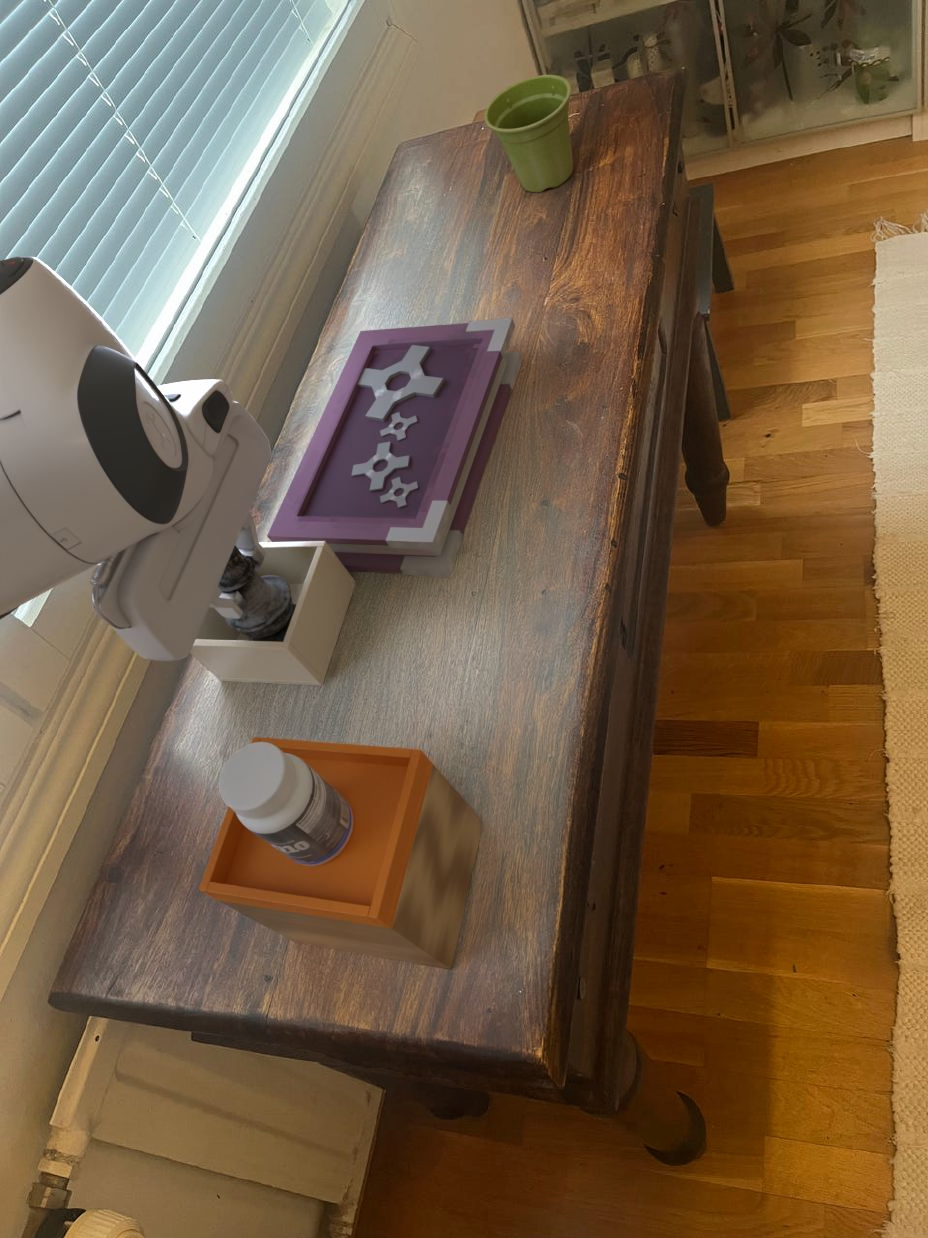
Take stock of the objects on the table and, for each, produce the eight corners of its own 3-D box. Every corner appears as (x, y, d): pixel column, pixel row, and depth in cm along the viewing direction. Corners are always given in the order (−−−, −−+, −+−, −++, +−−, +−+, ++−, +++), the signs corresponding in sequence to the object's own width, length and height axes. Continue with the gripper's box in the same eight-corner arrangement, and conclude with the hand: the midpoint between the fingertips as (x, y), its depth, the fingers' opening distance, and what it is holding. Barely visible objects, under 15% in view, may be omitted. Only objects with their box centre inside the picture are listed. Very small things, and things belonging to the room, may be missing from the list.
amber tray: (392, 928, 52) (377, 918, 50) (216, 900, 57) (197, 890, 55) (433, 763, 57) (421, 749, 55) (268, 750, 61) (253, 736, 60)
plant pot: (605, 155, 103) (588, 77, 96) (554, 209, 100) (533, 134, 94) (541, 144, 108) (520, 71, 101) (491, 196, 106) (467, 124, 99)
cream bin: (322, 686, 76) (286, 648, 71) (220, 680, 80) (180, 645, 75) (356, 582, 81) (325, 540, 76) (258, 582, 85) (223, 542, 80)
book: (453, 577, 77) (432, 542, 73) (292, 569, 84) (265, 536, 80) (527, 358, 89) (512, 317, 85) (380, 366, 96) (360, 329, 92)
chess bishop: (280, 665, 76) (203, 572, 67) (233, 645, 79) (154, 553, 70) (322, 611, 78) (253, 513, 69) (275, 593, 81) (203, 498, 72)
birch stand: (451, 970, 60) (392, 928, 52) (293, 942, 64) (216, 900, 57) (483, 821, 65) (433, 763, 57) (334, 805, 69) (268, 750, 61)
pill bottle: (272, 856, 56) (196, 804, 50) (305, 785, 58) (236, 726, 52) (336, 877, 54) (265, 826, 47) (368, 803, 56) (304, 744, 49)
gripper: (119, 600, 57) (235, 703, 68) (232, 363, 67) (317, 486, 78) (43, 599, 60) (167, 699, 71) (163, 371, 70) (255, 489, 81)
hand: (247, 585), depth 74 cm, fingers closed on chess bishop, 3 cm apart
